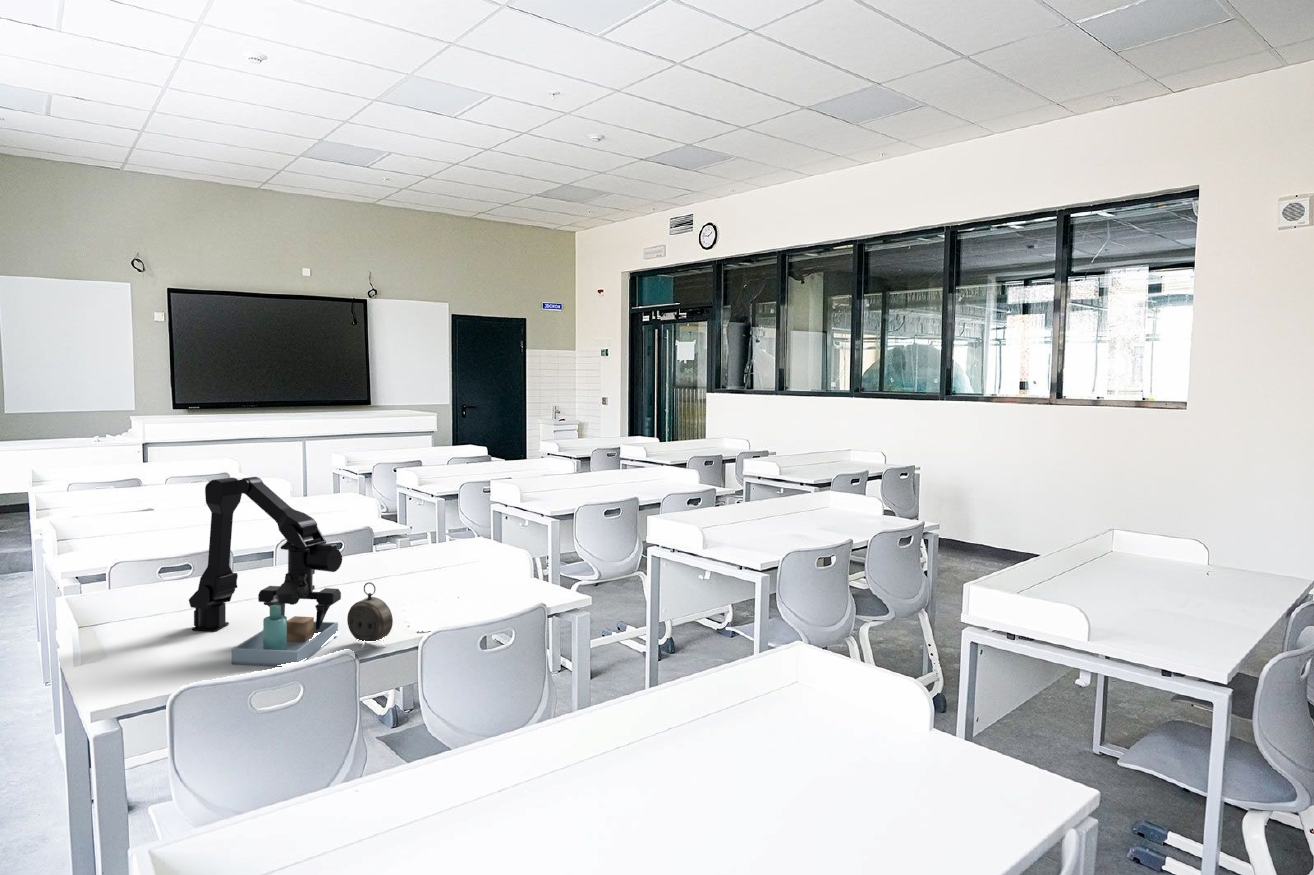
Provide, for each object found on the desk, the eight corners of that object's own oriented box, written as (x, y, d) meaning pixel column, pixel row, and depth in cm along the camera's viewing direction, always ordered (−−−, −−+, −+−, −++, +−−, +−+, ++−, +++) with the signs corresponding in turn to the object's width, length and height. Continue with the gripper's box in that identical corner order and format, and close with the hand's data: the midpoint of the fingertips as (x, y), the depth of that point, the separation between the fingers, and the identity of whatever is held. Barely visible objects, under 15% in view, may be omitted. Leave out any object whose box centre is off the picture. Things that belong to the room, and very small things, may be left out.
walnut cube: (313, 636, 209) (313, 617, 209) (304, 642, 204) (304, 622, 204) (294, 635, 209) (294, 616, 209) (284, 641, 204) (284, 622, 204)
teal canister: (283, 650, 197) (283, 601, 196) (289, 656, 193) (289, 607, 192) (260, 654, 194) (261, 605, 193) (266, 660, 190) (266, 610, 189)
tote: (337, 636, 212) (338, 622, 211) (297, 667, 188) (297, 651, 188) (279, 633, 212) (279, 620, 212) (231, 664, 189) (231, 649, 188)
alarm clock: (393, 646, 206) (394, 582, 205) (379, 652, 201) (380, 587, 200) (357, 640, 209) (358, 577, 208) (343, 646, 204) (343, 582, 203)
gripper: (247, 573, 197) (246, 637, 199) (323, 577, 197) (322, 640, 198) (269, 563, 209) (269, 623, 210) (342, 566, 208) (341, 626, 209)
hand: (299, 628), depth 206 cm, fingers open, 9 cm apart
